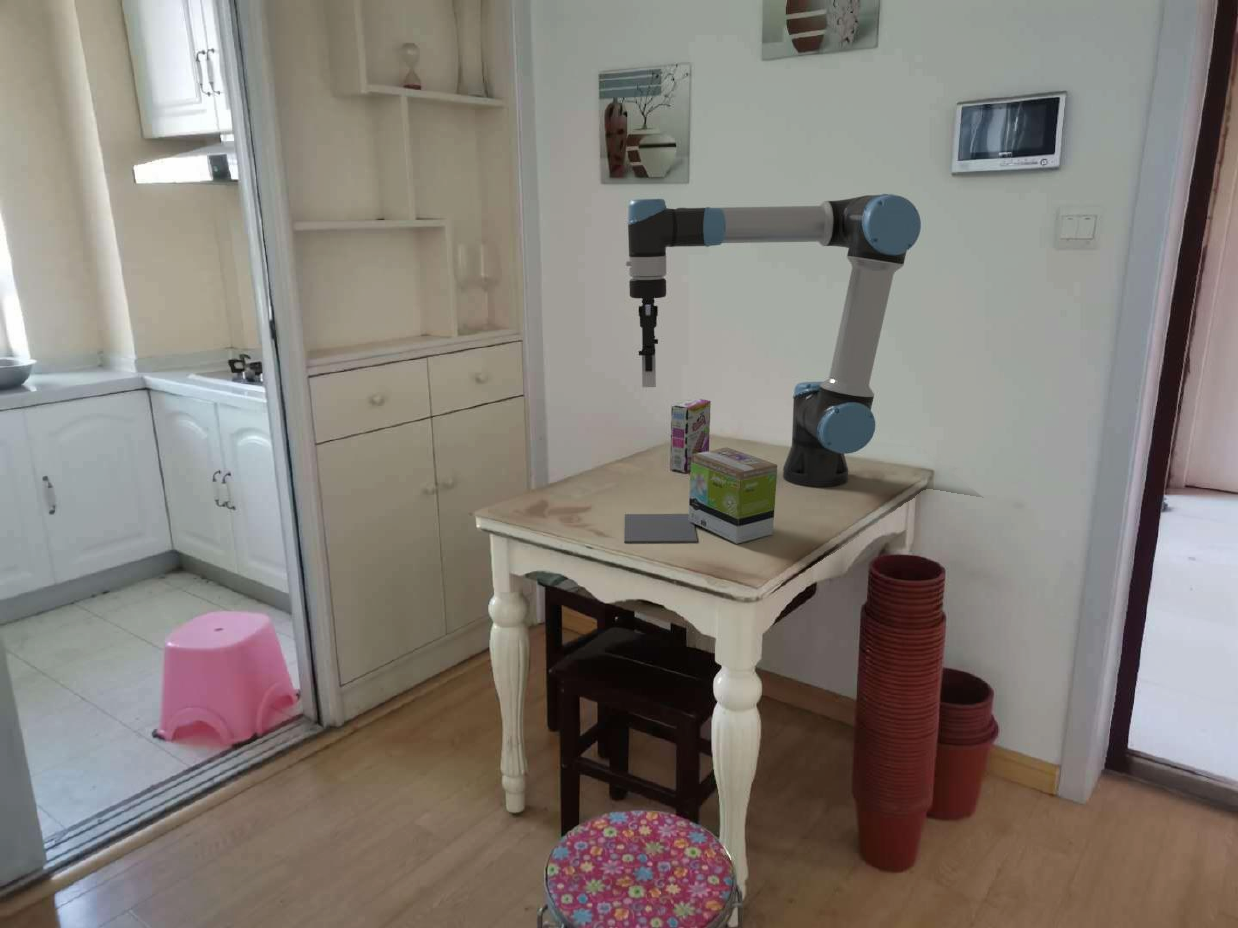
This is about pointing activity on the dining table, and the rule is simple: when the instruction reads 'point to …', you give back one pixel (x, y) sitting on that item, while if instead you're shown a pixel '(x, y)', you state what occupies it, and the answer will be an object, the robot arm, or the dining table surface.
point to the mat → (659, 528)
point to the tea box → (732, 494)
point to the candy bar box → (689, 432)
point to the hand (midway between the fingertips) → (649, 380)
